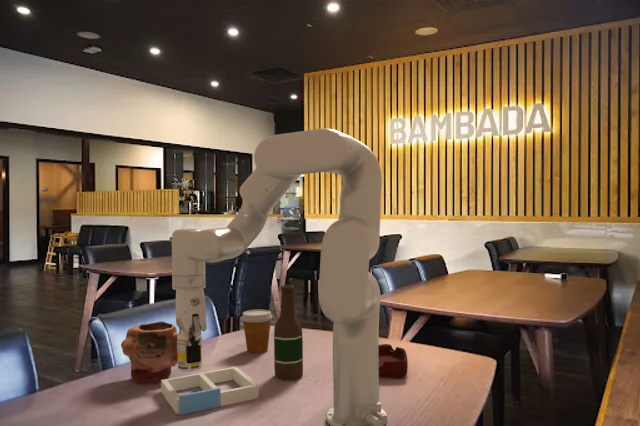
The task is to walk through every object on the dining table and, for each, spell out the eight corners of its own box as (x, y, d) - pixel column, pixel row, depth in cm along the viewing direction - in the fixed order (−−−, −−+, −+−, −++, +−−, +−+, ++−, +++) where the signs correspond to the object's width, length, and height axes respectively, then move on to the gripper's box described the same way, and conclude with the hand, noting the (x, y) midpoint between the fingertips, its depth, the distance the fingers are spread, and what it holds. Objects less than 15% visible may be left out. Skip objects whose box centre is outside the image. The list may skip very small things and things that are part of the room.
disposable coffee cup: (238, 349, 159) (237, 311, 159) (267, 345, 163) (266, 308, 163) (247, 357, 151) (246, 317, 150) (277, 352, 155) (276, 313, 154)
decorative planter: (202, 370, 139) (201, 320, 138) (187, 386, 127) (186, 331, 126) (131, 370, 140) (130, 320, 140) (110, 386, 128) (109, 331, 128)
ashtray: (382, 388, 124) (381, 368, 124) (338, 372, 137) (337, 353, 137) (428, 372, 135) (427, 354, 135) (383, 358, 148) (383, 341, 148)
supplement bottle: (203, 364, 121) (203, 322, 121) (200, 372, 116) (199, 327, 116) (179, 365, 121) (179, 322, 121) (175, 373, 115) (174, 328, 115)
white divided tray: (260, 397, 119) (259, 380, 118) (177, 415, 109) (177, 397, 109) (236, 378, 132) (235, 362, 132) (161, 392, 123) (160, 375, 123)
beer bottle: (299, 382, 129) (298, 288, 128) (270, 380, 130) (268, 287, 130) (306, 372, 136) (305, 283, 136) (278, 370, 138) (277, 282, 138)
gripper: (216, 285, 112) (217, 366, 113) (194, 276, 127) (195, 347, 128) (182, 288, 109) (183, 372, 109) (164, 278, 124) (165, 351, 124)
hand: (189, 357), depth 118 cm, fingers closed on supplement bottle, 5 cm apart
